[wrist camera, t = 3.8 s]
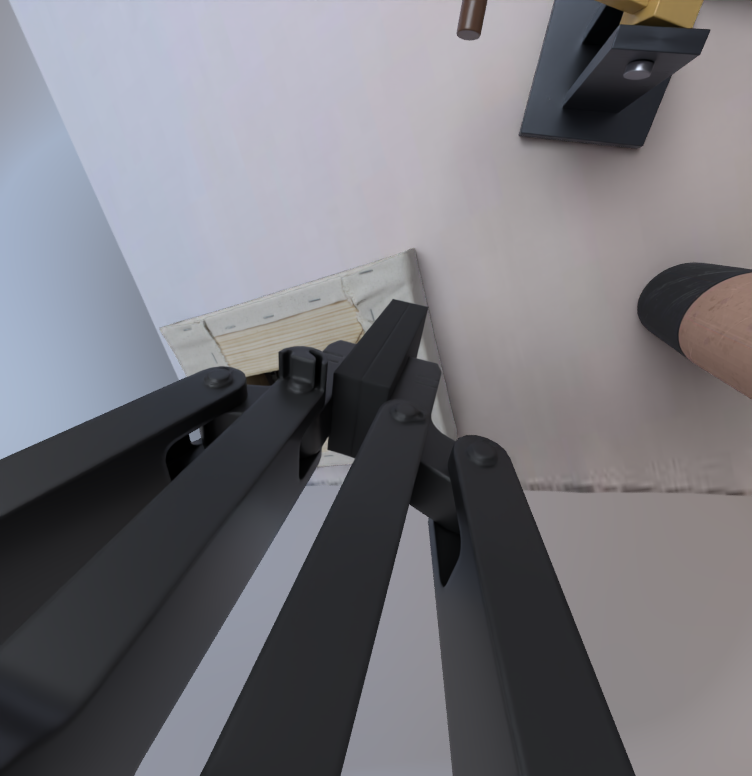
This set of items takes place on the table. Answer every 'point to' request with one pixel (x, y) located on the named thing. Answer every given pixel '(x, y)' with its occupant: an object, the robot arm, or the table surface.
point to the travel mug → (704, 318)
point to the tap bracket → (603, 75)
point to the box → (308, 328)
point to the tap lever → (639, 3)
